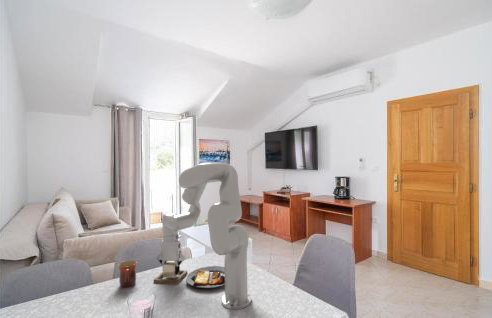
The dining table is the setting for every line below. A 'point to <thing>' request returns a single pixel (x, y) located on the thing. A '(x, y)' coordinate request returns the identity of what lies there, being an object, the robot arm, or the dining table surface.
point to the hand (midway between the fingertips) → (171, 272)
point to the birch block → (169, 269)
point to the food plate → (206, 277)
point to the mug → (127, 273)
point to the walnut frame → (166, 281)
